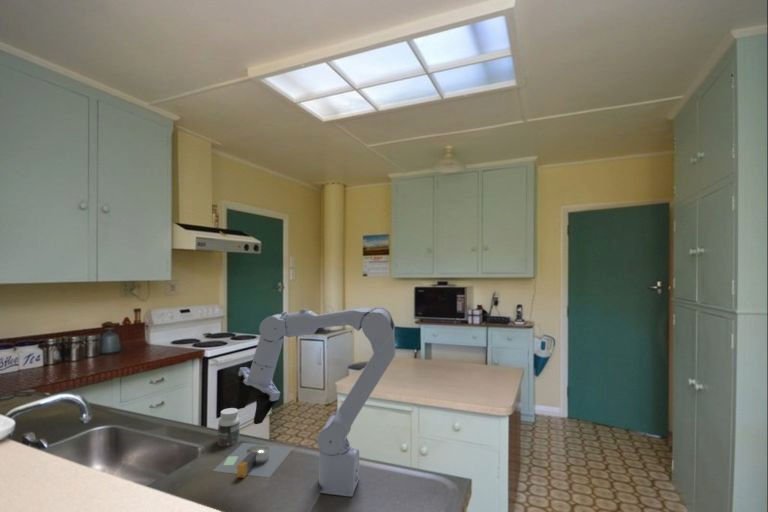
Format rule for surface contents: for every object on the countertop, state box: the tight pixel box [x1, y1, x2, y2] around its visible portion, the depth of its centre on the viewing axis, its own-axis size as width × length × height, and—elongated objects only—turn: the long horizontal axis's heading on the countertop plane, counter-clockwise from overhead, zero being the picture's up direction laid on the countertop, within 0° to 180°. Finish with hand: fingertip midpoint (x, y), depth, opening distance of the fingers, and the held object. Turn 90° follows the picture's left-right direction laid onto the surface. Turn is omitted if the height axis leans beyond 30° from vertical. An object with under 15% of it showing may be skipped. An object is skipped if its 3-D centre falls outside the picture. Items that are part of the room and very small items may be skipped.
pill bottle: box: [217, 407, 241, 447], centre depth 112 cm, size 6×6×10 cm
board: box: [212, 442, 294, 479], centre depth 103 cm, size 15×15×1 cm
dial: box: [236, 444, 269, 479], centre depth 99 cm, size 6×12×3 cm, turn 171°
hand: (249, 415), depth 96 cm, fingers open, 7 cm apart
